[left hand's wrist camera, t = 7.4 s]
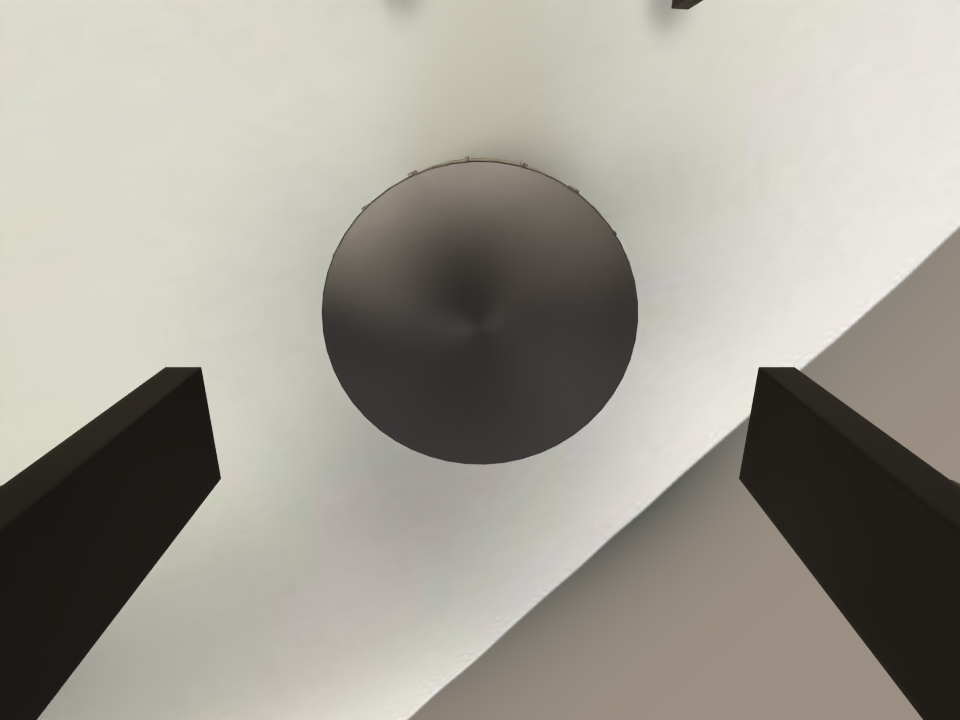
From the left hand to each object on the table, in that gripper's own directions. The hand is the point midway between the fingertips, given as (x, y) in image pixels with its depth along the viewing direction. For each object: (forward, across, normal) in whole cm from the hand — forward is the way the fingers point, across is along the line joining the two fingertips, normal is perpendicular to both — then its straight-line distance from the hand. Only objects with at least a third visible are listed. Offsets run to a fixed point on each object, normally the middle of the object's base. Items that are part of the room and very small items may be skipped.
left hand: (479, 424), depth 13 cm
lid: (+7, 0, 0) cm, 7 cm away
